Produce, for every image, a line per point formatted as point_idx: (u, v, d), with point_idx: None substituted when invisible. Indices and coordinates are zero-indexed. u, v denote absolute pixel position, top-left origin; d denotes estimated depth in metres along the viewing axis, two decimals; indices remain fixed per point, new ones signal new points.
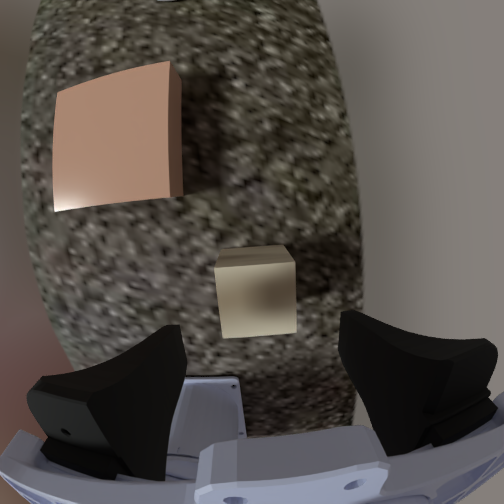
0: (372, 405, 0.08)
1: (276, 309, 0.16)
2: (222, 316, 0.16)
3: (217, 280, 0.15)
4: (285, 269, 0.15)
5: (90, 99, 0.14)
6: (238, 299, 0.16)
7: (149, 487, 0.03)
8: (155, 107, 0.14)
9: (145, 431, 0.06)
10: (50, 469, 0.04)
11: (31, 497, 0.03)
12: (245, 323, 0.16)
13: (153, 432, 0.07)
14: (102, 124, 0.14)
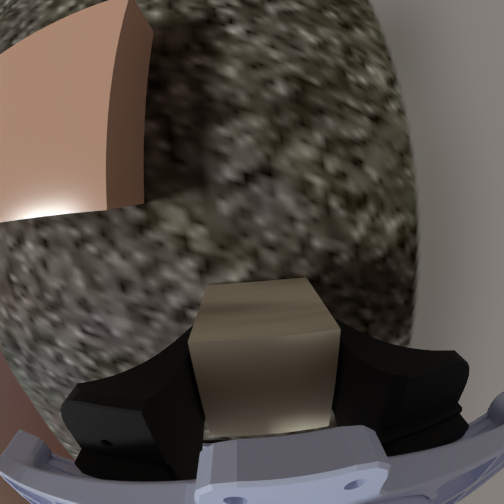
0: (339, 413, 0.08)
1: (299, 401, 0.08)
2: (208, 411, 0.08)
3: (195, 361, 0.08)
4: (322, 342, 0.08)
5: (19, 62, 0.06)
6: (235, 390, 0.08)
7: (149, 487, 0.03)
8: (96, 59, 0.07)
9: (186, 435, 0.06)
10: (50, 469, 0.04)
11: (31, 497, 0.03)
12: (247, 420, 0.08)
13: (192, 435, 0.07)
14: (25, 94, 0.07)
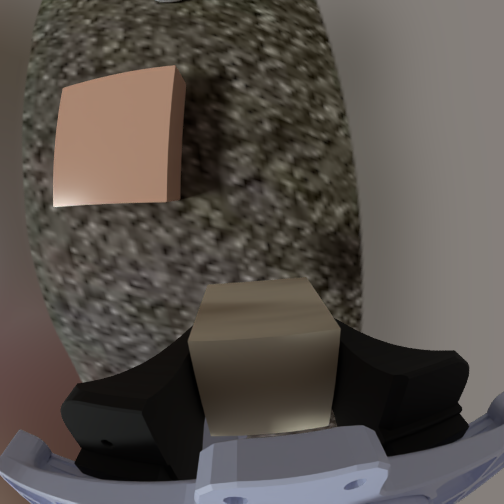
0: (339, 413, 0.08)
1: (299, 401, 0.08)
2: (208, 411, 0.08)
3: (195, 361, 0.08)
4: (322, 342, 0.08)
5: (95, 98, 0.14)
6: (235, 390, 0.08)
7: (149, 487, 0.03)
8: (158, 111, 0.14)
9: (186, 435, 0.06)
10: (50, 469, 0.04)
11: (31, 497, 0.03)
12: (247, 420, 0.08)
13: (192, 435, 0.07)
14: (104, 124, 0.14)
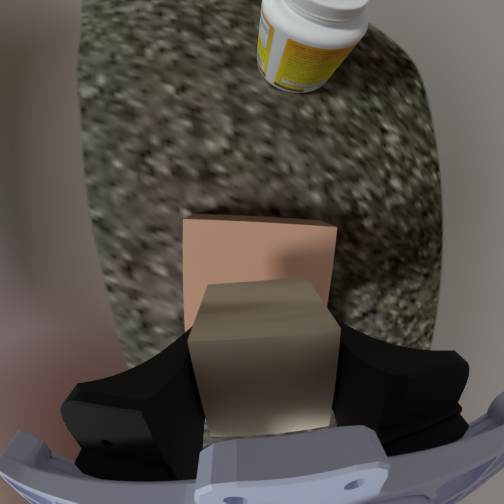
0: (339, 413, 0.08)
1: (299, 401, 0.08)
2: (208, 411, 0.08)
3: (195, 361, 0.08)
4: (322, 342, 0.08)
5: (239, 249, 0.16)
6: (235, 390, 0.08)
7: (149, 487, 0.03)
8: (318, 279, 0.16)
9: (186, 435, 0.06)
10: (50, 469, 0.04)
11: (31, 497, 0.03)
12: (247, 420, 0.08)
13: (192, 435, 0.07)
14: None
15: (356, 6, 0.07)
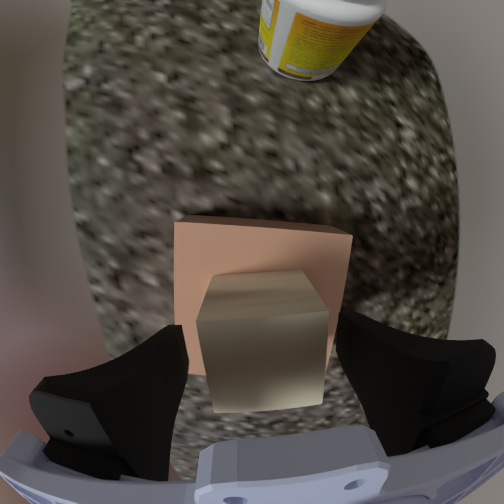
0: (369, 406, 0.08)
1: (294, 377, 0.10)
2: (212, 387, 0.10)
3: (202, 339, 0.09)
4: (312, 322, 0.09)
5: (239, 258, 0.14)
6: (237, 366, 0.09)
7: (149, 487, 0.03)
8: (329, 294, 0.14)
9: (148, 431, 0.06)
10: (50, 469, 0.04)
11: (31, 497, 0.03)
12: (247, 396, 0.10)
13: (156, 432, 0.07)
14: None
15: None
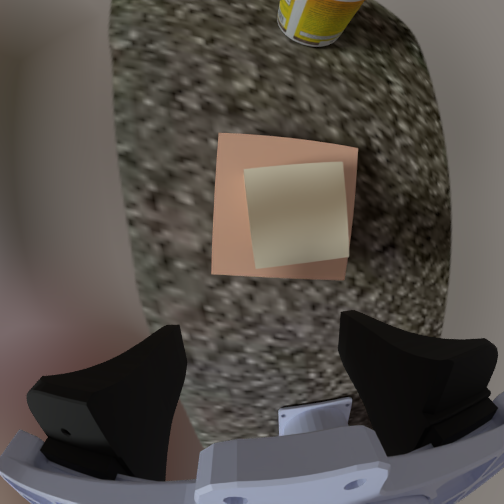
0: (372, 405, 0.08)
1: (323, 223, 0.12)
2: (255, 236, 0.12)
3: (248, 185, 0.12)
4: (332, 170, 0.12)
5: (271, 161, 0.16)
6: (276, 211, 0.12)
7: (149, 487, 0.03)
8: None
9: (145, 431, 0.06)
10: (50, 469, 0.04)
11: (31, 497, 0.03)
12: (285, 245, 0.12)
13: (153, 432, 0.07)
14: None
15: None
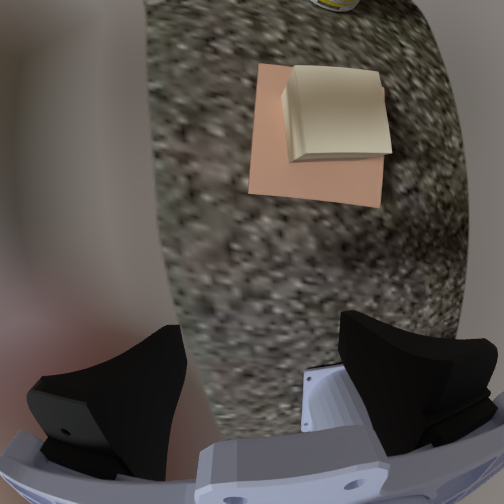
0: (372, 405, 0.08)
1: (367, 118, 0.11)
2: (305, 121, 0.11)
3: (298, 78, 0.11)
4: (370, 77, 0.11)
5: None
6: (325, 101, 0.11)
7: (149, 487, 0.03)
8: None
9: (145, 431, 0.06)
10: (50, 469, 0.04)
11: (31, 497, 0.03)
12: (334, 133, 0.11)
13: (153, 432, 0.07)
14: None
15: None
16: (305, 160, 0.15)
